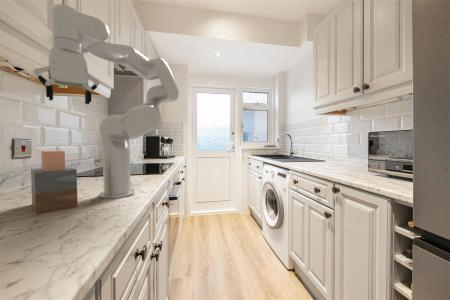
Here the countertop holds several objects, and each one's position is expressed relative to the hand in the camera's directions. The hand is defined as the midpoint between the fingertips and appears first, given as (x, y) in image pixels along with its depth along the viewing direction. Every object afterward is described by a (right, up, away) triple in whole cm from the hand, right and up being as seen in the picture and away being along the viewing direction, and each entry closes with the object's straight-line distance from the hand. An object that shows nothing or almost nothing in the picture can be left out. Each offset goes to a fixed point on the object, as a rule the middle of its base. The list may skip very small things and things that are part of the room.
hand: (70, 102), depth 68 cm
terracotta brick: (-6, -22, 0) cm, 23 cm away
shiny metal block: (-6, -34, +1) cm, 34 cm away
